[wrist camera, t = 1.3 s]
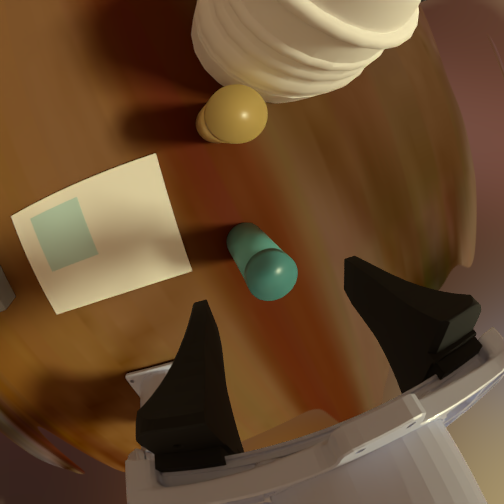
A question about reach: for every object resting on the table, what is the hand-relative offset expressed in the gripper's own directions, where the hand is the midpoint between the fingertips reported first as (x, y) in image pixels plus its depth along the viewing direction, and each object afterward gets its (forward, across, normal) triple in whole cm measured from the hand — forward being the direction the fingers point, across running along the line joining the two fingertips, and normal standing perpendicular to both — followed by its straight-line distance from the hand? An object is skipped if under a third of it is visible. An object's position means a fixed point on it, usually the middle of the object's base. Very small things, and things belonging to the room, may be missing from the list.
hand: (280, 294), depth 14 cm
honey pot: (+13, -6, -14) cm, 20 cm away
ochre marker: (+12, 0, -8) cm, 14 cm away
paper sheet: (+10, +12, -2) cm, 16 cm away
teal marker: (+10, 0, +2) cm, 11 cm away
